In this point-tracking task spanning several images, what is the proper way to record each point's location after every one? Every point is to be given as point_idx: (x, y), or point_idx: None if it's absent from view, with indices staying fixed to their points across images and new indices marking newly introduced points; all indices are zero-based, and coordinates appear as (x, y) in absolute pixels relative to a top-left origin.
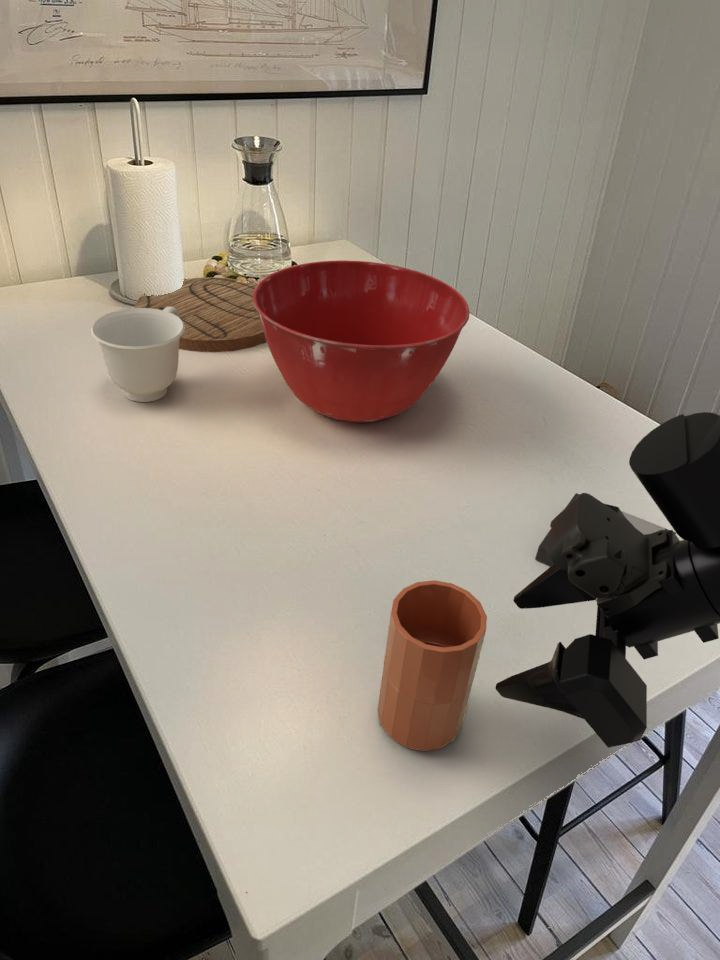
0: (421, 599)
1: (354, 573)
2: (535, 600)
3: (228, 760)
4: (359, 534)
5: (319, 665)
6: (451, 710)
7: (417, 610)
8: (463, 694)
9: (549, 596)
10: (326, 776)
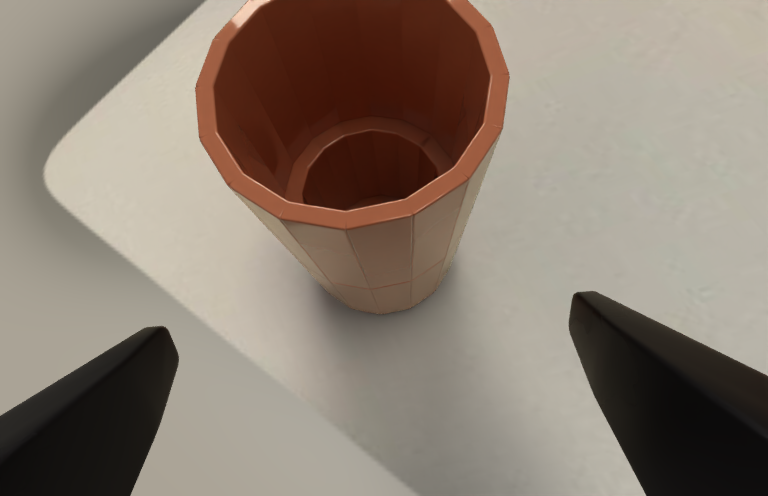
0: (446, 55)
1: (622, 51)
2: (605, 373)
3: None
4: (721, 22)
5: None
6: (310, 272)
7: (439, 80)
8: (325, 278)
9: (644, 433)
10: None
